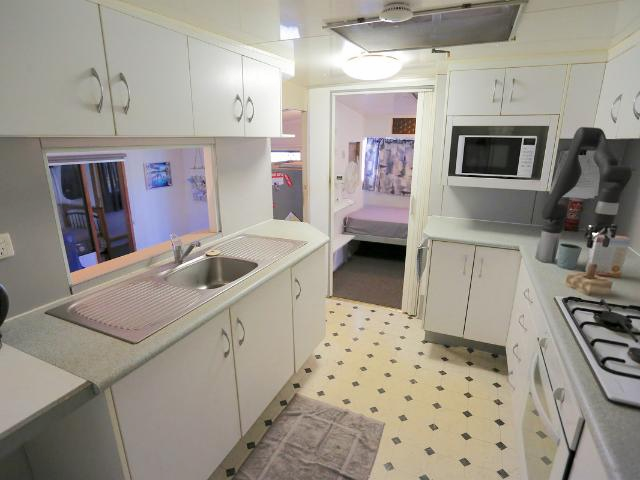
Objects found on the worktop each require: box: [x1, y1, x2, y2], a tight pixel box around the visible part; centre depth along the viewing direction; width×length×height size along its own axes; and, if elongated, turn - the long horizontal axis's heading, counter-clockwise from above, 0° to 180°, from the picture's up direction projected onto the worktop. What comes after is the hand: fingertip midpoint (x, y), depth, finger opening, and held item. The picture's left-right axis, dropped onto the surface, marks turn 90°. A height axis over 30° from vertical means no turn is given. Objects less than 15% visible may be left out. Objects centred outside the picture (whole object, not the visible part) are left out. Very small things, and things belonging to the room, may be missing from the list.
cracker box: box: [584, 234, 631, 279], centre depth 184 cm, size 14×6×21 cm, turn 73°
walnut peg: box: [585, 263, 597, 280], centre depth 166 cm, size 3×3×11 cm
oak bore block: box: [564, 271, 614, 297], centre depth 167 cm, size 12×12×6 cm
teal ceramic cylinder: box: [556, 243, 583, 270], centre depth 196 cm, size 10×10×12 cm
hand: (597, 247), depth 162 cm, fingers open, 8 cm apart
